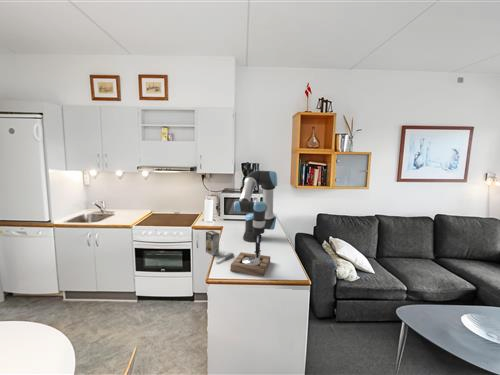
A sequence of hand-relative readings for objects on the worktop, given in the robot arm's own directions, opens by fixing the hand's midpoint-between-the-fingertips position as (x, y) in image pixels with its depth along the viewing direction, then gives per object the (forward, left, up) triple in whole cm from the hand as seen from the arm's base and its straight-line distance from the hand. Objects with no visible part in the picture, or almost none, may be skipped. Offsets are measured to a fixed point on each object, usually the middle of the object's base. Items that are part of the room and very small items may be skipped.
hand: (257, 261), depth 166 cm
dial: (-6, -6, -5) cm, 9 cm away
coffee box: (-18, -40, -7) cm, 44 cm away
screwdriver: (-10, -26, -7) cm, 29 cm away
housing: (-6, -6, -7) cm, 10 cm away
